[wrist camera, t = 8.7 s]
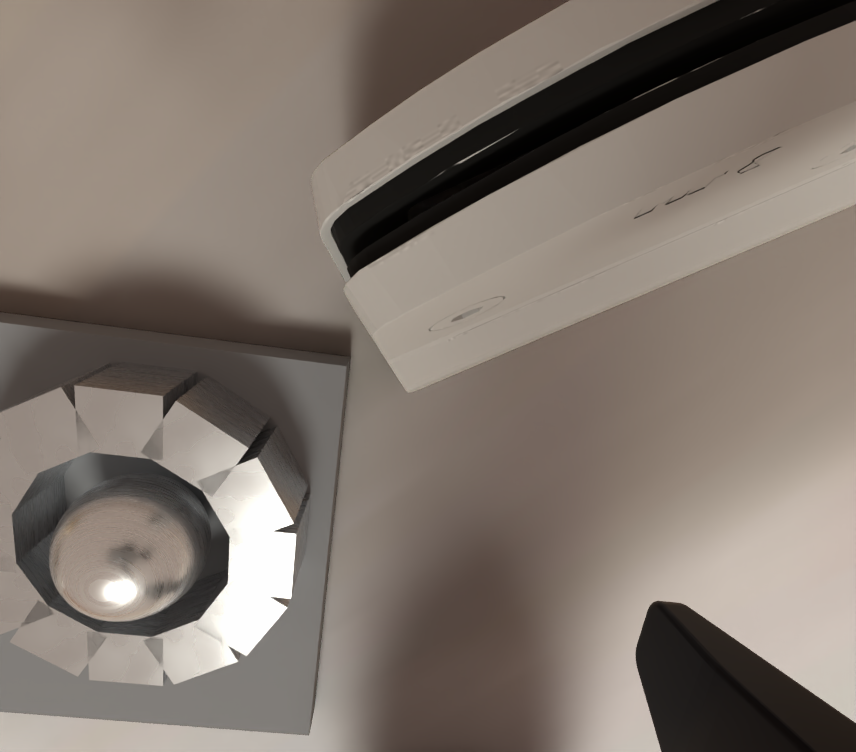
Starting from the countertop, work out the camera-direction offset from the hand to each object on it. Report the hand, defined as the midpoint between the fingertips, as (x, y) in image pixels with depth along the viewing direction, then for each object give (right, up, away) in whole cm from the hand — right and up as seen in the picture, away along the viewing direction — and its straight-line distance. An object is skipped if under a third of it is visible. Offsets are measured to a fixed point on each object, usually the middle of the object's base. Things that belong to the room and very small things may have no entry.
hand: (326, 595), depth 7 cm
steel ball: (-8, -2, +9) cm, 12 cm away
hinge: (+7, +9, +10) cm, 15 cm away
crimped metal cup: (-8, -2, +12) cm, 14 cm away
